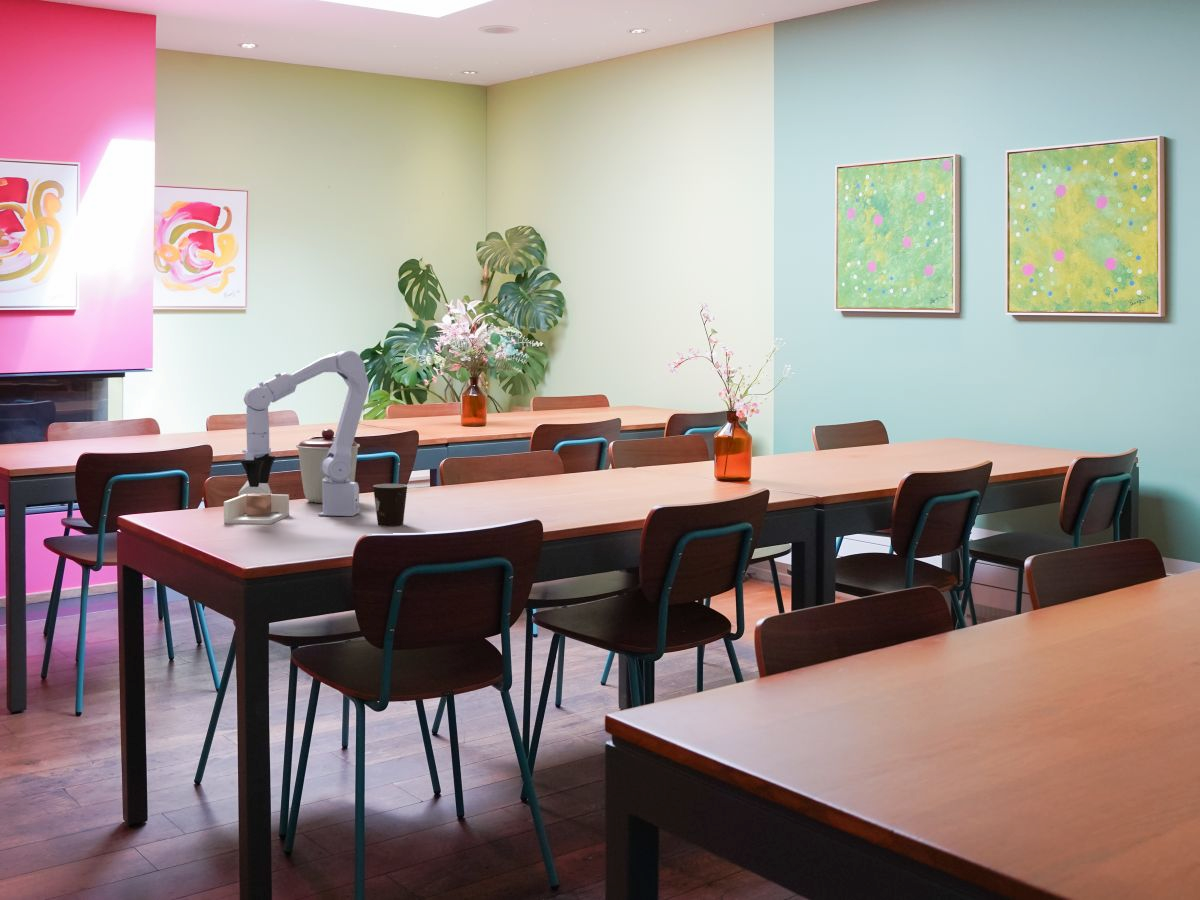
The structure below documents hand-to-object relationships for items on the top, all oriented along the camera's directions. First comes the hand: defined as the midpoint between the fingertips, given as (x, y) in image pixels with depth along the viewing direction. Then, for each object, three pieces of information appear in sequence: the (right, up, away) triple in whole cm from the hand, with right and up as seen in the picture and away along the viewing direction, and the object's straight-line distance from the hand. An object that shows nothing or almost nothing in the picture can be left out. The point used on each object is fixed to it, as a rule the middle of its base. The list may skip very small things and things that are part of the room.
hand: (258, 485), depth 329 cm
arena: (0, -9, -1) cm, 9 cm away
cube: (0, -8, +1) cm, 8 cm away
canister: (+11, -6, +35) cm, 37 cm away
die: (-5, -8, +17) cm, 19 cm away
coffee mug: (+36, -10, -9) cm, 38 cm away
